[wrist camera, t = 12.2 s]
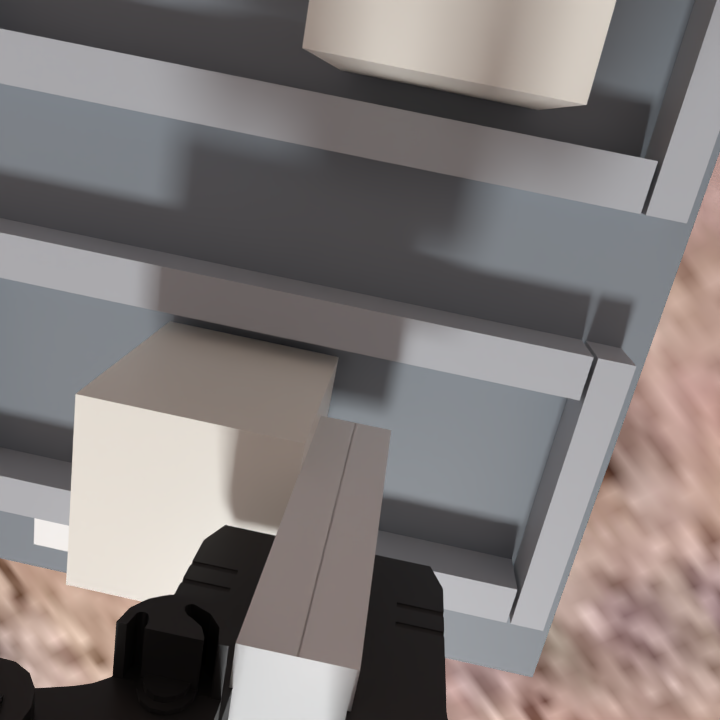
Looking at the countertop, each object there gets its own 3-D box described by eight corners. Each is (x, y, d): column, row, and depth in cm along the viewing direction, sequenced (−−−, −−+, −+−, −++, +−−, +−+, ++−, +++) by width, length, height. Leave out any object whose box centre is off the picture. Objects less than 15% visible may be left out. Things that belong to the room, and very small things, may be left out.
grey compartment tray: (-48, -469, 13) (-163, -612, 10) (849, -306, 12) (956, -415, 10) (-35, 513, 20) (-101, 569, 18) (525, 637, 20) (539, 713, 17)
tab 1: (170, 321, 16) (75, 394, 12) (338, 356, 16) (305, 443, 11) (155, 470, 17) (66, 584, 13) (310, 504, 17) (271, 630, 13)
